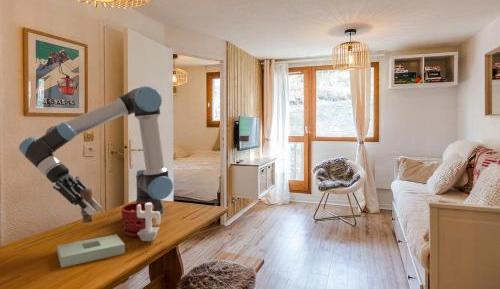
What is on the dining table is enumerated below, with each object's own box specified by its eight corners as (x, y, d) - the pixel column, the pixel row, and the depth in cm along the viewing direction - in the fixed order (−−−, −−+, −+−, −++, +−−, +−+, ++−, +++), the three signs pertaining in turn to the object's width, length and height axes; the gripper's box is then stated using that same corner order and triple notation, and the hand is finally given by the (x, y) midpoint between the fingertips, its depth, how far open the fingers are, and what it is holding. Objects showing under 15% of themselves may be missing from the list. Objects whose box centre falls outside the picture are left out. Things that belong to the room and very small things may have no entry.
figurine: (158, 242, 125) (158, 205, 124) (134, 242, 125) (134, 205, 124) (162, 235, 133) (162, 200, 132) (139, 235, 132) (139, 200, 131)
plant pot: (121, 230, 138) (121, 203, 138) (152, 226, 143) (152, 201, 143) (121, 240, 126) (121, 211, 125) (155, 236, 131) (155, 208, 131)
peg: (92, 219, 128) (91, 187, 127) (94, 221, 125) (93, 189, 124) (80, 221, 126) (78, 189, 125) (82, 224, 122) (80, 191, 121)
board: (116, 242, 124) (116, 234, 124) (124, 253, 115) (124, 244, 114) (57, 254, 112) (57, 245, 112) (61, 267, 103) (60, 257, 102)
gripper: (62, 172, 133) (101, 211, 133) (31, 180, 116) (76, 225, 117) (73, 160, 132) (113, 199, 133) (44, 166, 115) (90, 211, 116)
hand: (96, 211), depth 125 cm, fingers closed on peg, 4 cm apart
